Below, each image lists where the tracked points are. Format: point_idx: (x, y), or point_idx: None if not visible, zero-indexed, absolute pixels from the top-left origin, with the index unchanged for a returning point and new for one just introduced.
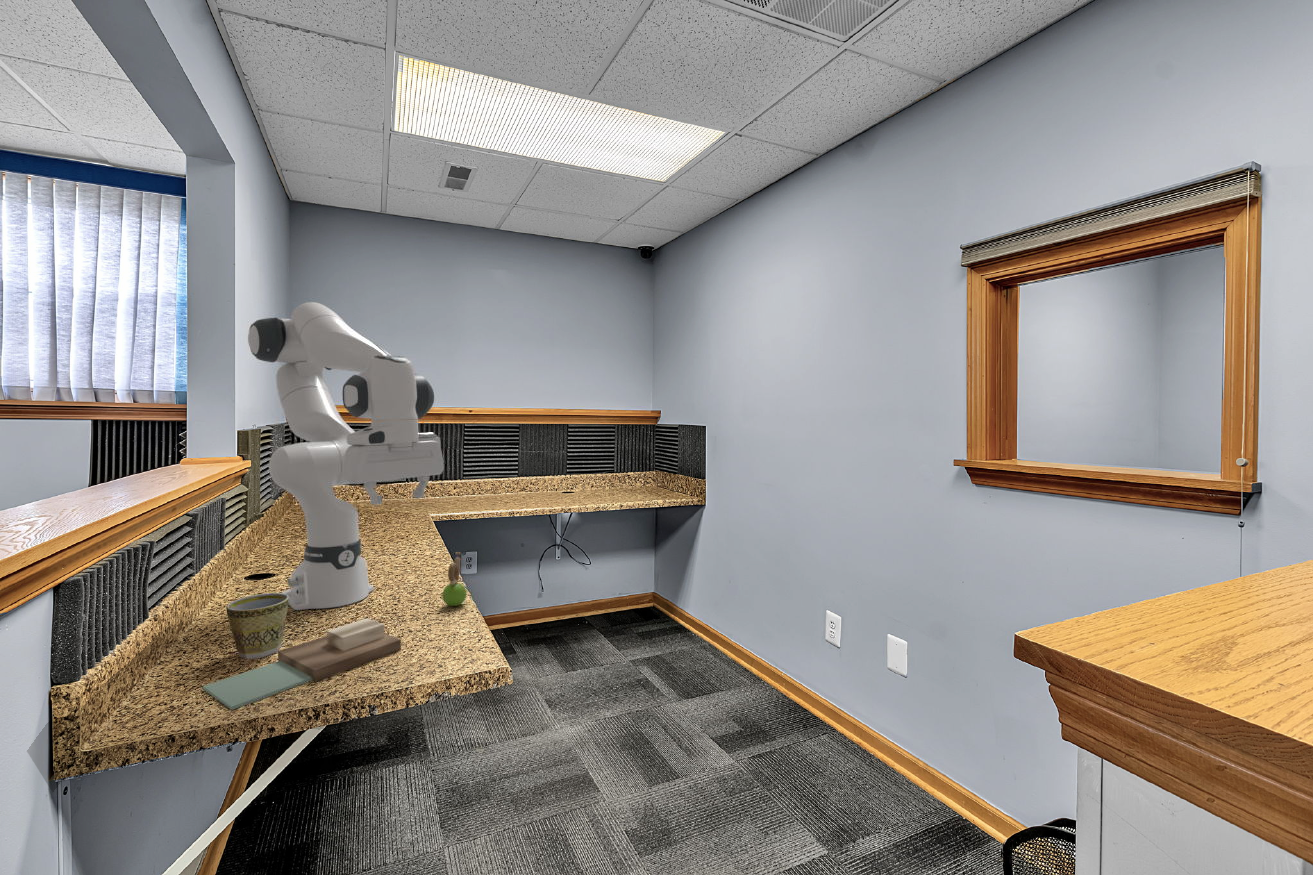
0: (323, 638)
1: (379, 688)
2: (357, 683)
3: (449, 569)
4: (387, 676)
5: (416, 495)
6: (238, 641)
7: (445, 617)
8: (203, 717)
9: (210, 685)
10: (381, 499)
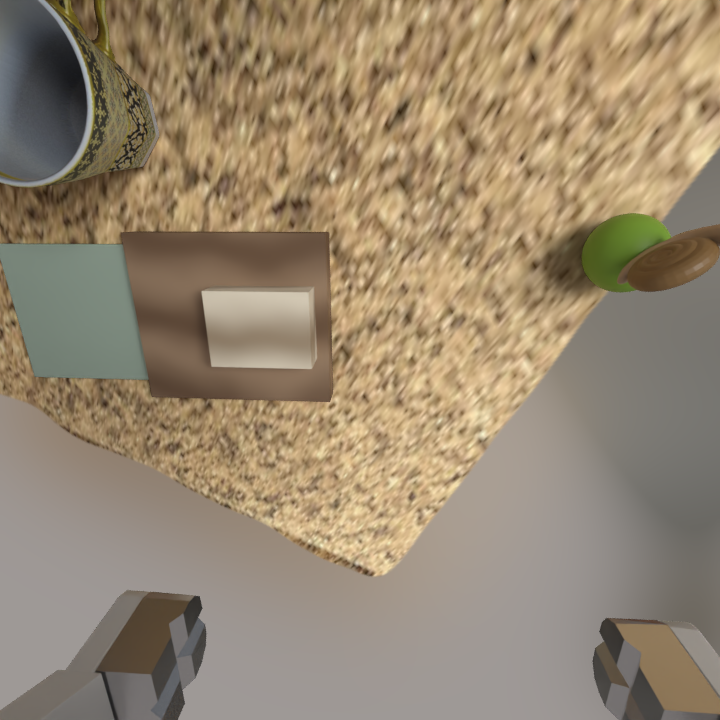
0: (220, 244)
1: (229, 491)
2: (212, 450)
3: (649, 282)
4: (257, 467)
5: (609, 682)
6: (35, 119)
7: (518, 310)
8: (2, 362)
9: (8, 254)
10: (182, 692)
